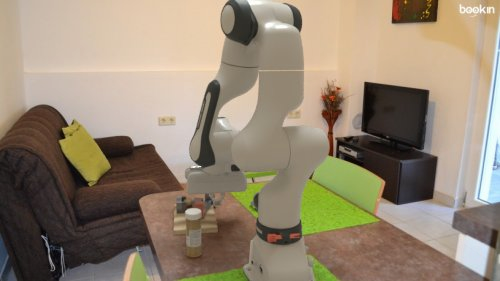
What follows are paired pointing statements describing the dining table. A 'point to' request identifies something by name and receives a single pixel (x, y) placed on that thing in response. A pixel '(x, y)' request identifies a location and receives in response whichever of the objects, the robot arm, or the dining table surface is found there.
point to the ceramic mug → (255, 201)
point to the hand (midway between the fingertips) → (217, 204)
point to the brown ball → (188, 202)
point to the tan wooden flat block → (180, 221)
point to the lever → (202, 204)
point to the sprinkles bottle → (193, 232)
